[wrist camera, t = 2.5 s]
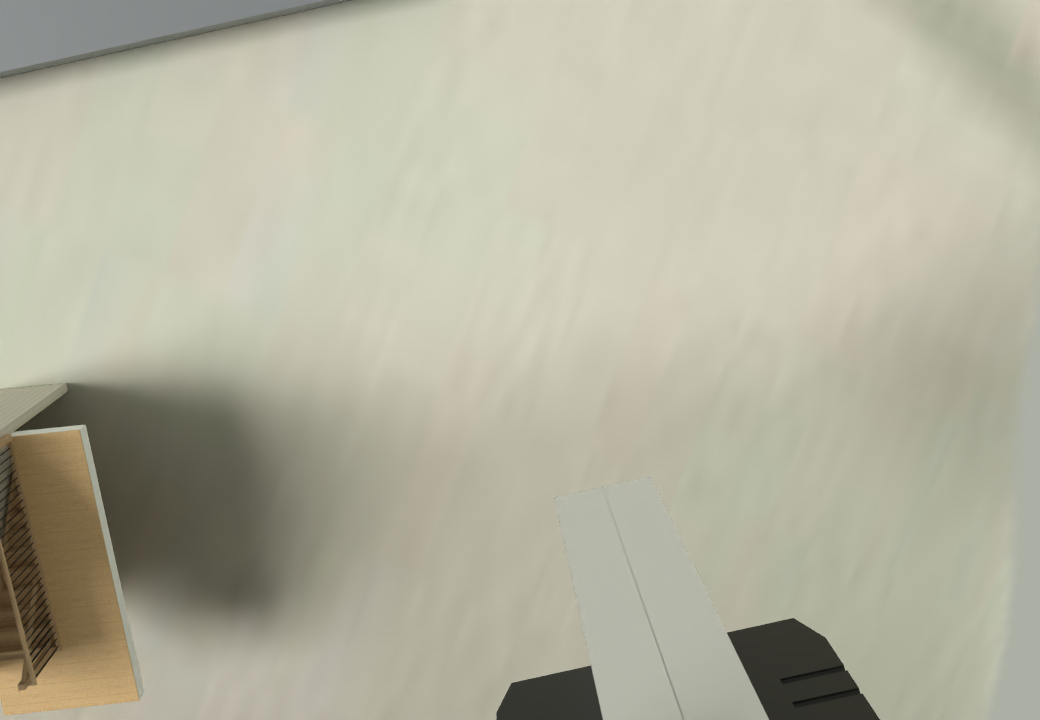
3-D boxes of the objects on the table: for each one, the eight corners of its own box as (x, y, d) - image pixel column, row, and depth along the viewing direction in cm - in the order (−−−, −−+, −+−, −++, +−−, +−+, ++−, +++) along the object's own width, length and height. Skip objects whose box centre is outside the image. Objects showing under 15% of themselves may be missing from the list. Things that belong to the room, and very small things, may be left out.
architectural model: (134, 372, 24) (-5, 488, 17) (183, 617, 26) (77, 815, 19) (-5, 386, 24) (-203, 509, 17) (55, 631, 26) (-100, 835, 19)
